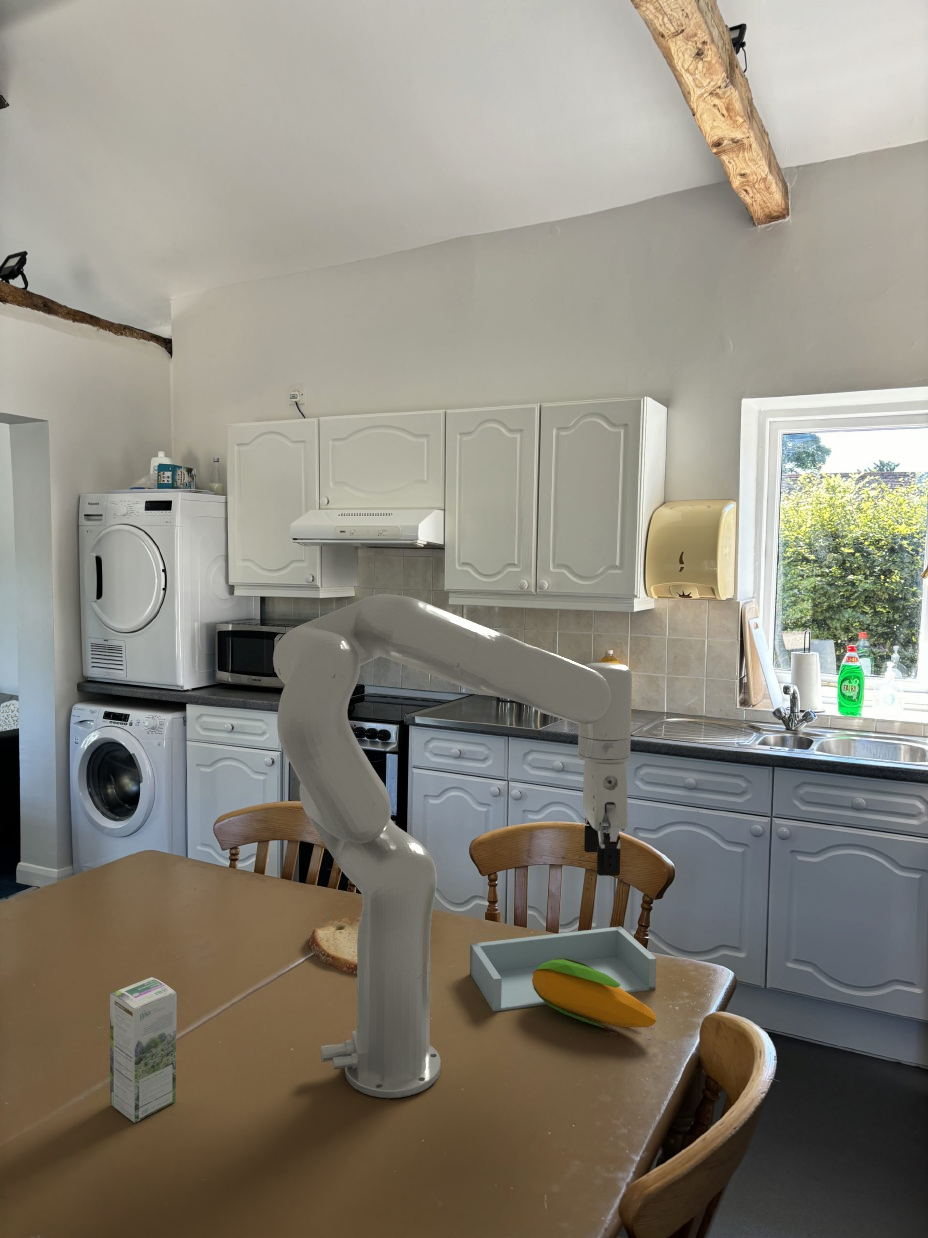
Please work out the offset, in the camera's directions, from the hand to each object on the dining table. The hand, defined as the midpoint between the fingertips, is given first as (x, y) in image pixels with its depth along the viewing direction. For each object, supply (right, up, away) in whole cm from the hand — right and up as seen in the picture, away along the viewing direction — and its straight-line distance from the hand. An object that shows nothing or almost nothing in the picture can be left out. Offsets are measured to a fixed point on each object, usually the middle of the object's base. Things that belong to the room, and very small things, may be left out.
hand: (601, 863), depth 127 cm
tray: (-4, -22, +12) cm, 26 cm away
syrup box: (-60, -24, -21) cm, 68 cm away
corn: (-1, -23, 0) cm, 23 cm away
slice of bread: (-38, -22, +22) cm, 49 cm away
